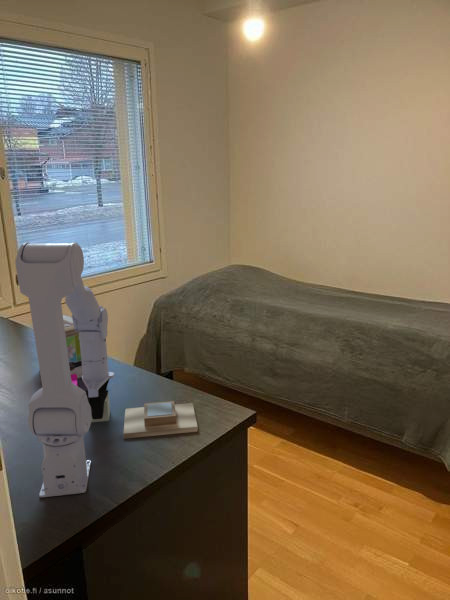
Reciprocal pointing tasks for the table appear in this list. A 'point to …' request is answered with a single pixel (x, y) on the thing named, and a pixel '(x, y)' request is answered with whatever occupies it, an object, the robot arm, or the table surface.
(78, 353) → the tea box
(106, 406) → the sage block
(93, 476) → the table surface
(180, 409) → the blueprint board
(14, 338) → the table surface
